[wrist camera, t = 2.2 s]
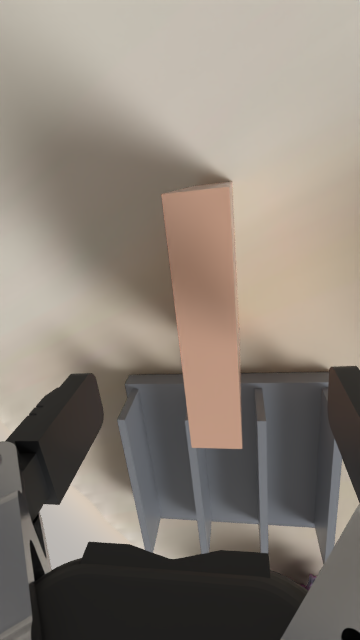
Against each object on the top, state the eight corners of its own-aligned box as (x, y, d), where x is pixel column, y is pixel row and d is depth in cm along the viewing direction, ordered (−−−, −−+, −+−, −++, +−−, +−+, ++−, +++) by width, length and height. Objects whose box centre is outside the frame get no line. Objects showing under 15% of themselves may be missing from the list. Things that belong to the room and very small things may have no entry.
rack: (129, 374, 30) (108, 414, 25) (333, 371, 27) (354, 415, 22) (154, 504, 36) (141, 557, 31) (323, 514, 33) (338, 573, 28)
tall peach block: (195, 185, 24) (161, 194, 13) (232, 181, 23) (229, 186, 12) (208, 341, 28) (191, 447, 17) (239, 340, 28) (242, 448, 17)
